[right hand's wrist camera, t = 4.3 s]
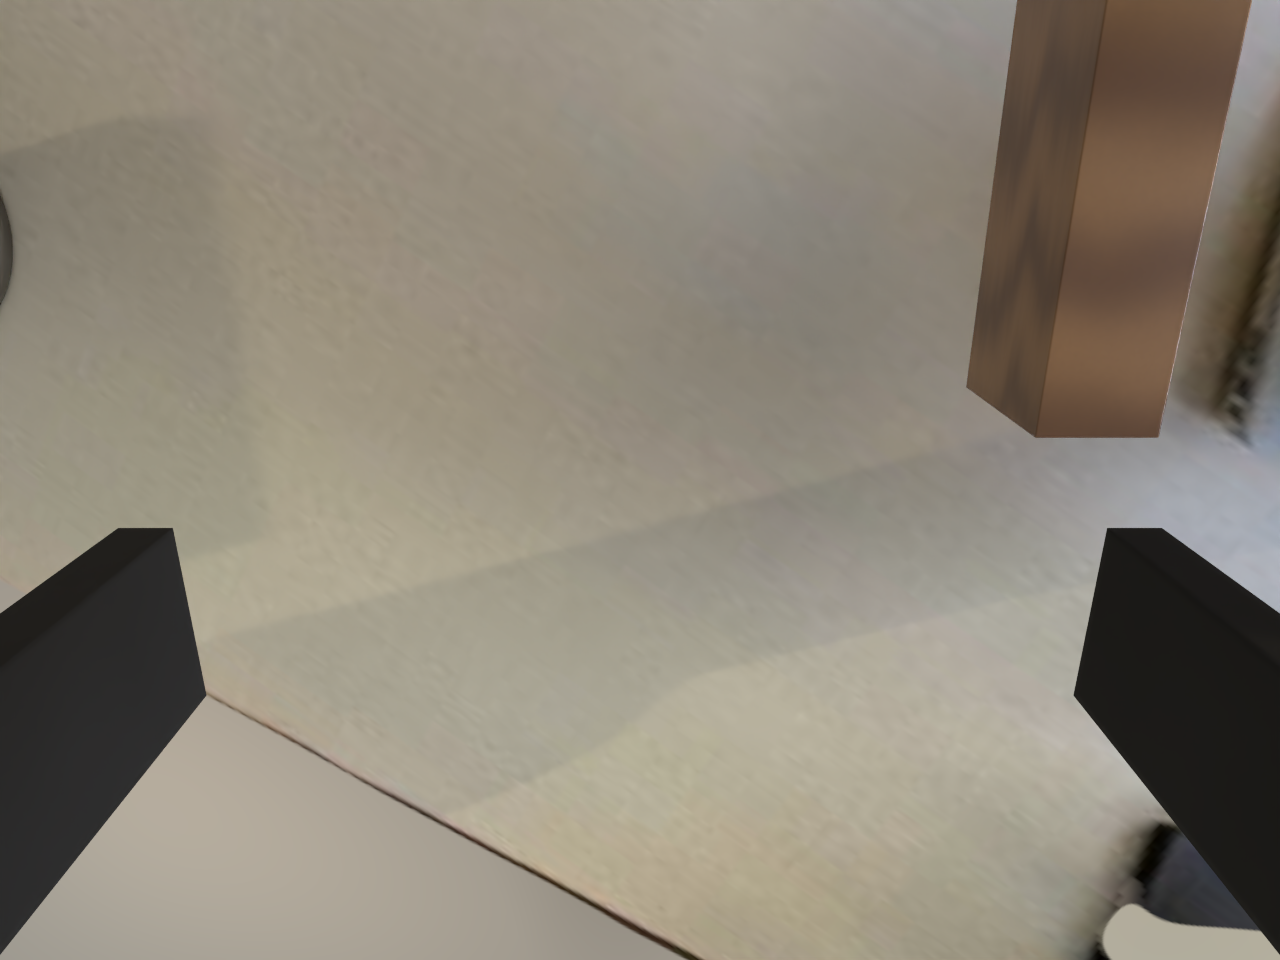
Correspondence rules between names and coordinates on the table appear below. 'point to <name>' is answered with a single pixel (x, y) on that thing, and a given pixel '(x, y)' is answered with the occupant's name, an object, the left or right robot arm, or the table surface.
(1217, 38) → the bar
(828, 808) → the table surface
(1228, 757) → the right robot arm
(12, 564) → the table surface
